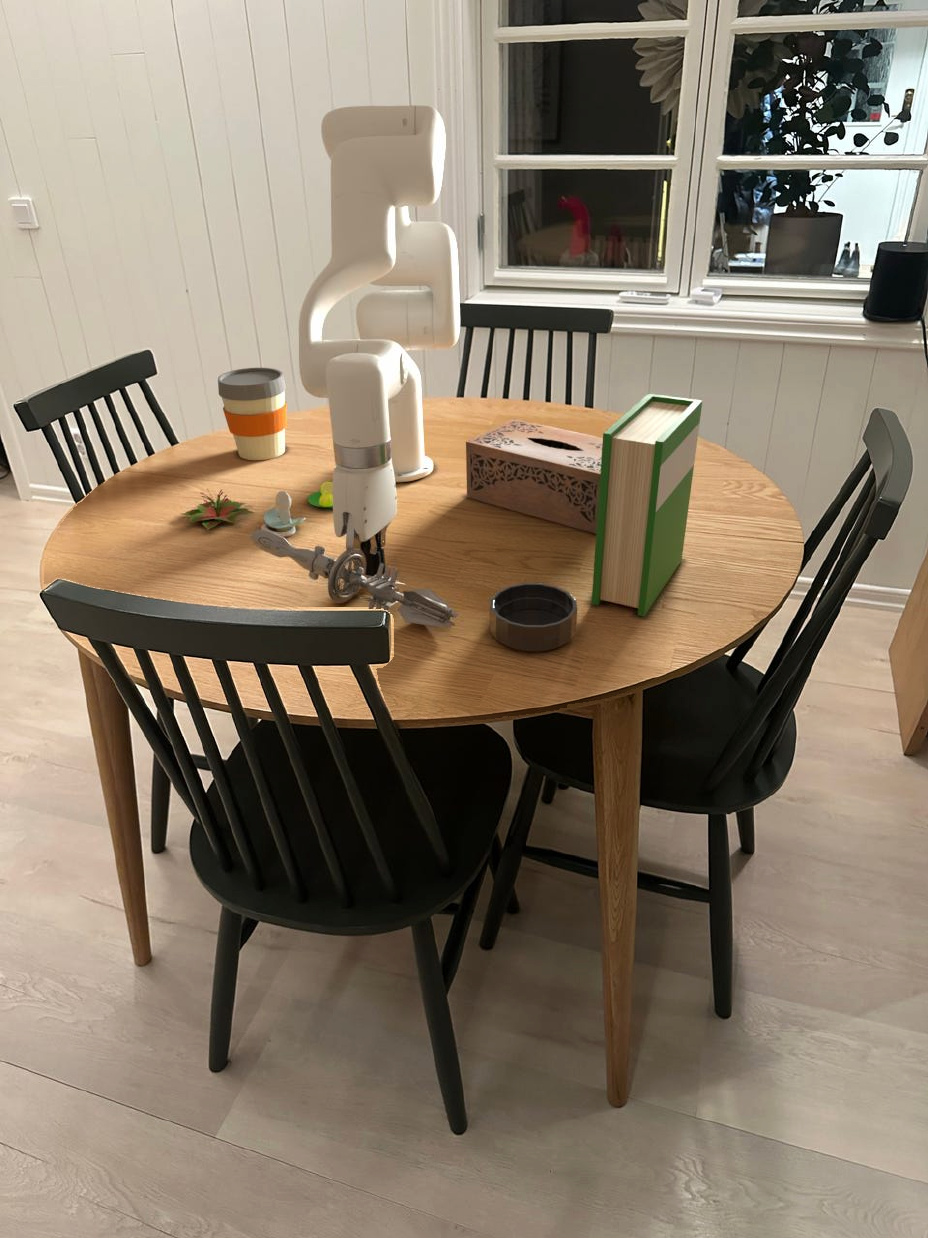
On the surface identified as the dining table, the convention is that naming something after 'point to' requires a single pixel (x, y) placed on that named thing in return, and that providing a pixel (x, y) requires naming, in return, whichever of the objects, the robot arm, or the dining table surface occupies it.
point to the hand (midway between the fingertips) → (373, 573)
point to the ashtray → (533, 617)
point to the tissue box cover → (537, 472)
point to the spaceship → (360, 580)
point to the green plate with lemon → (323, 496)
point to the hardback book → (644, 499)
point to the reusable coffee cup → (255, 411)
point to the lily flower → (216, 511)
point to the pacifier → (281, 517)
